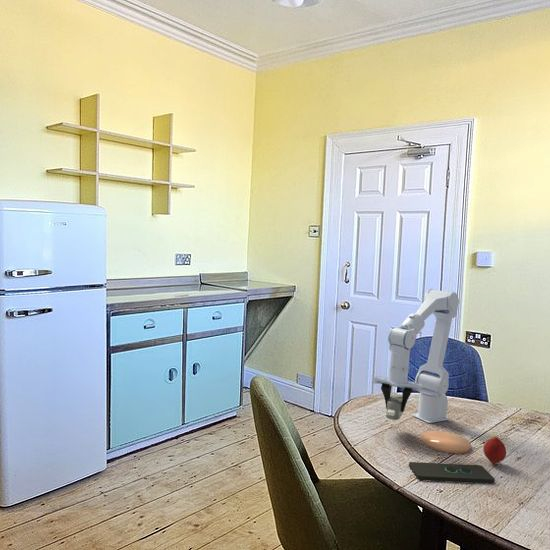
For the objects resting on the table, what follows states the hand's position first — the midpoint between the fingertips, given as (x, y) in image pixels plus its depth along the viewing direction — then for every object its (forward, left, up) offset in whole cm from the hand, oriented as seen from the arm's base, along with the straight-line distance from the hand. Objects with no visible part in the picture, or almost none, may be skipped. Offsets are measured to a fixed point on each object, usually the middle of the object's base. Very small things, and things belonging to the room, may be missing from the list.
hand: (395, 409), depth 160 cm
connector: (+1, +1, -2) cm, 2 cm away
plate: (-9, +13, -7) cm, 17 cm away
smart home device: (+6, +28, -8) cm, 30 cm away
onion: (-11, +28, -7) cm, 31 cm away
